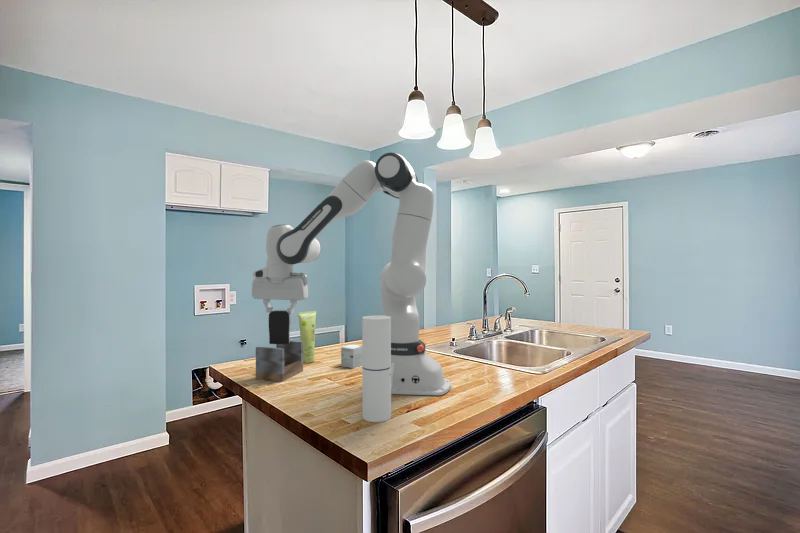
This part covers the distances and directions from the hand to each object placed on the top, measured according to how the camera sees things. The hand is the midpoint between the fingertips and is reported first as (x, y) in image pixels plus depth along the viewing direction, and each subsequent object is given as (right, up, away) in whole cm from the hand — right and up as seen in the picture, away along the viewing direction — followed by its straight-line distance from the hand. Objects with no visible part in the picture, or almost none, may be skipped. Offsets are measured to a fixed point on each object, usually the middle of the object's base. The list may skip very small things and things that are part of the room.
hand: (279, 312), depth 136 cm
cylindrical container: (+35, -22, -36) cm, 55 cm away
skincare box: (+23, -21, +12) cm, 34 cm away
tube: (+5, -21, +18) cm, 28 cm away
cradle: (0, -21, 0) cm, 21 cm away
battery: (0, -11, 0) cm, 11 cm away
